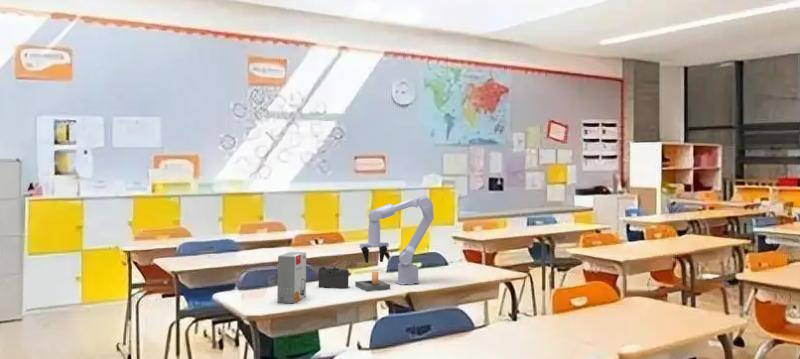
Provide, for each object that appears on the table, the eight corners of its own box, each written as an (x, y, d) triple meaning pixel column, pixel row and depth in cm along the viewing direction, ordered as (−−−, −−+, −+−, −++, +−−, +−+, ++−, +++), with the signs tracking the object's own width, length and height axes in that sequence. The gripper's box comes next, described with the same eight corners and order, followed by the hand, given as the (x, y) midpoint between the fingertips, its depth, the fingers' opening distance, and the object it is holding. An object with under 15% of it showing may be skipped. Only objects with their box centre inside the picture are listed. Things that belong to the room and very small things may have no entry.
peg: (377, 288, 323) (377, 271, 323) (379, 289, 320) (379, 272, 320) (371, 288, 322) (371, 271, 322) (373, 289, 319) (373, 272, 319)
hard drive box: (294, 304, 288) (294, 256, 288) (277, 303, 290) (276, 256, 289) (306, 296, 304) (306, 251, 303) (290, 295, 305) (290, 251, 304)
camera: (352, 284, 332) (352, 264, 332) (347, 289, 321) (347, 268, 321) (323, 283, 334) (323, 263, 334) (317, 288, 323) (317, 267, 323)
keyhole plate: (378, 284, 333) (378, 279, 333) (390, 289, 320) (390, 284, 320) (355, 286, 328) (355, 281, 328) (366, 291, 315) (366, 286, 315)
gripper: (384, 232, 341) (384, 260, 342) (357, 234, 335) (357, 261, 336) (390, 234, 335) (390, 262, 335) (362, 235, 329) (362, 263, 329)
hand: (374, 262), depth 335 cm, fingers open, 7 cm apart
